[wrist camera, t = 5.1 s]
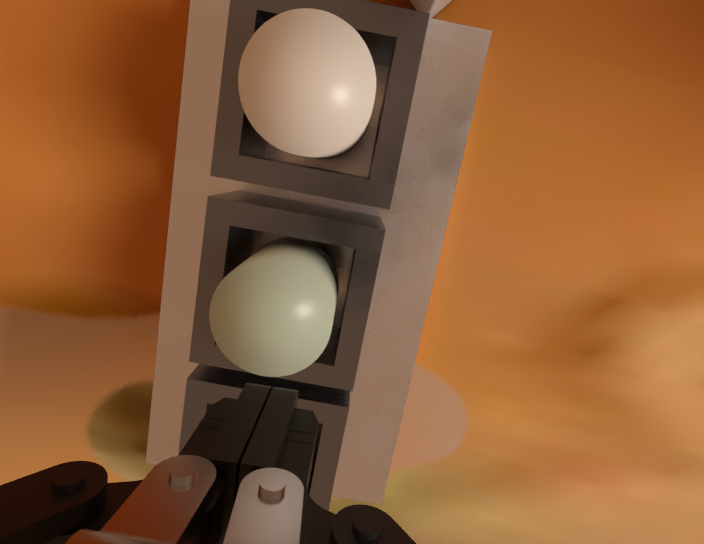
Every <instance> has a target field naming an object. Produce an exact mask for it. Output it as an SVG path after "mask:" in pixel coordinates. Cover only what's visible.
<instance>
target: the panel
mask: <svg viewBox="0 0 704 544" xmlns="http://www.w3.org/2000/svg"><path fill="white" fill-rule="evenodd" d="M299 8H312V9H319V10H323V11H326V12H329V13H331V14H334V15H336V16H338V17H339V18H341V19H343V20H344V21H346V22H347V23H348V24H349V25H351V26H352V27H353V28H354V29H355V30H356V31H357V32H358V34H359V35H360V36H361V38H362V39H363V40H364V42H365V44H366V45H367V47H368V49H369V51H370V54H371V56H372V59H373V63H374V67H375V72H376V94H375V101H374V105H373V110H372V115H371V119H370V123H369V125H368V128H367V130H366V132H365V134H364V135H363V137H362V138H361V140H360V141H359V142H358V143H357V144H356V145H355V146H354V147H353V148H351V149H350V150H349V151H347V152H345V153H344V154H341V155H339V156H336V157H333V158H327V159H315V158H309V157H304V156H299V155H295V154H291V153H287V152H285V151H282V150H280V149H278V148H276V147H275V146H273V145H271V144H270V143H269V142H267V141H266V140H265V139H264V138H263V137H261V136H260V135H259V134H258V133H257V131H256V130H255V129H254V127H253V126H252V125H251V123H250V121H249V120H248V118H247V116H246V114H245V112H244V110H243V107H242V104H241V100H240V95H239V89H238V72H239V66H240V61H241V58H242V55H243V52H244V50H245V48H246V46H247V44H248V42H249V40H250V39H251V37H252V36H253V34H254V33H255V32H256V31H257V30H258V29H259V28H260V27H261V26H262V25H263V24H264V23H265V22H267V21H268V20H270V19H271V18H272V17H274V16H276V15H278V14H280V13H283V12H286V11H289V10H293V9H299ZM429 16H430V13H426V12H421V11H416V10H411V9H406V8H401V7H397V6H392V5H387V4H382V3H377V2H372V1H367V0H190V8H189V18H188V28H187V39H186V49H185V59H184V70H183V80H182V90H181V101H180V111H179V122H178V132H177V142H176V153H175V163H174V173H173V184H172V194H171V204H170V215H169V225H168V235H167V246H166V256H165V267H164V277H163V287H162V298H161V308H160V318H159V329H158V339H157V350H156V360H155V370H154V380H153V391H152V401H151V412H150V422H149V432H148V443H147V453H146V464H151V465H157V464H159V463H160V462H162V461H164V460H166V459H168V458H171V457H174V456H178V455H179V454H180V452H181V451H182V449H183V448H184V446H185V444H186V443H187V441H188V440H189V438H190V437H191V435H192V434H193V432H194V431H195V429H196V428H198V425H199V423H200V422H201V420H202V419H203V418H204V416H205V414H206V413H207V411H208V409H209V408H210V406H211V405H213V404H214V403H216V402H218V401H219V400H221V399H222V398H224V397H226V398H233V399H238V397H239V395H240V393H241V392H242V390H243V388H244V386H245V384H246V383H251V384H258V385H264V386H271V387H272V389H273V387H278V388H284V389H291V390H297V391H298V401H297V408H299V409H305V410H312V411H313V412H314V414H315V416H316V418H317V420H318V428H317V434H316V441H315V448H314V454H313V461H312V468H311V473H310V479H309V484H308V493H309V495H310V497H311V498H312V500H313V501H314V502H315V503H316V504H317V505H319V506H320V507H322V508H323V509H325V510H327V511H328V510H329V505H330V500H331V496H335V497H341V498H347V499H353V500H358V501H364V502H370V503H376V504H382V500H383V496H384V491H385V487H386V483H387V478H388V474H389V470H390V466H391V461H392V457H393V453H394V449H395V444H396V440H397V435H398V431H399V427H400V422H401V418H402V414H403V410H404V406H405V401H406V397H407V392H408V389H409V384H410V380H411V376H412V371H413V367H414V363H415V359H416V355H417V350H418V346H419V342H420V338H421V333H422V329H423V325H424V320H425V316H426V312H427V308H428V303H429V299H430V295H431V291H432V286H433V282H434V278H435V274H436V269H437V265H438V261H439V256H440V252H441V248H442V244H443V239H444V235H445V231H446V227H447V222H448V218H449V214H450V209H451V205H452V201H453V197H454V192H455V188H456V184H457V180H458V175H459V171H460V167H461V163H462V158H463V154H464V150H465V145H466V141H467V137H468V133H469V128H470V124H471V120H472V116H473V111H474V107H475V103H476V98H477V94H478V90H479V86H480V81H481V77H482V73H483V69H484V64H485V60H486V56H487V52H488V47H489V43H490V39H491V34H492V30H487V29H482V28H477V27H472V26H467V25H462V24H457V23H452V22H447V21H442V20H437V19H432V18H429ZM283 238H297V239H302V240H306V241H308V242H311V243H313V244H314V245H316V246H318V247H319V248H320V249H322V250H323V251H324V252H325V253H326V254H327V255H328V257H329V258H330V259H331V261H332V262H333V264H334V266H335V269H336V271H337V275H338V281H339V290H338V297H337V303H336V308H335V314H334V320H333V325H332V331H331V335H330V339H329V341H328V343H327V346H326V347H325V349H324V351H323V352H322V354H321V355H320V356H319V357H318V359H316V360H315V361H314V362H313V363H312V364H311V365H309V366H308V367H307V368H305V369H303V370H301V371H299V372H297V373H294V374H291V375H287V376H281V377H266V376H260V375H256V374H253V373H250V372H247V371H245V370H243V369H241V368H240V367H238V366H237V365H235V364H234V363H232V362H231V361H230V360H229V359H228V358H227V357H226V356H225V355H224V354H223V353H222V351H221V350H220V348H219V347H218V345H217V343H216V342H215V340H214V337H213V334H212V332H211V327H210V320H209V310H210V304H211V300H212V297H213V294H214V292H215V290H216V288H217V287H218V285H219V284H220V282H221V281H222V280H223V279H224V278H225V277H226V276H227V275H228V274H229V273H230V272H231V271H233V270H234V269H235V268H236V267H238V266H239V265H240V264H241V263H243V262H244V261H245V260H246V259H248V258H249V257H250V256H251V255H253V254H254V253H255V252H256V251H258V250H259V249H260V248H261V247H263V246H264V245H266V244H267V243H269V242H272V241H274V240H278V239H283Z"/></svg>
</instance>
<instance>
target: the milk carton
mask: <svg viewBox="0 0 704 544" xmlns="http://www.w3.org/2000/svg"><path fill="white" fill-rule="evenodd" d="M409 1H410V2H411V4H412V5H413V6H414V8H415V9H416V11H421V12H426V13H430V16H429V18H432V17H433V16H435V15H436V14H437V13H438V12H439V11H441V10H442V9H443V8H444V7H445V6H446V5H447V4H449V3H450V2H451V1H452V0H409Z"/></svg>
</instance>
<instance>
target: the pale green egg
mask: <svg viewBox="0 0 704 544" xmlns="http://www.w3.org/2000/svg"><path fill="white" fill-rule="evenodd" d="M338 290H339V281H338V275H337V271H336V269H335V266H334V264H333V262H332V261H331V259H330V258H329V257H328V255H327V254H326V253H325V252H324V251H323V250H322V249H320V248H319V247H318V246H316V245H314V244H313V243H311V242H308V241H306V240H302V239H297V238H283V239H278V240H274V241H272V242H269V243H267V244H266V245H264V246H263V247H261V248H260V249H259V250H258V251H256V252H255V253H254V254H253V255H251V256H250V257H249V258H248V259H246V260H245V261H244V262H243V263H241V264H240V265H239V266H238V267H236V268H235V269H234V270H233V271H231V272H230V273H229V274H228V275H227V276H226V277H225V278H224V279H223V280H222V281H221V282H220V284H219V285H218V287H217V288H216V290H215V292H214V294H213V297H212V300H211V304H210V310H209V320H210V327H211V332H212V334H213V337H214V340H215V342H216V343H217V345H218V347H219V348H220V350H221V351H222V353H223V354H224V355H225V356H226V357H227V358H228V359H229V360H230V361H231V362H232V363H234V364H235V365H237V366H238V367H240V368H241V369H243V370H245V371H247V372H250V373H253V374H256V375H260V376H266V377H281V376H287V375H291V374H294V373H297V372H299V371H301V370H303V369H305V368H307V367H308V366H309V365H311V364H312V363H313V362H314V361H315V360H316V359H318V357H319V356H320V355H321V354H322V352H323V351H324V349H325V347H326V346H327V343H328V341H329V339H330V335H331V331H332V325H333V320H334V314H335V308H336V303H337V297H338Z"/></svg>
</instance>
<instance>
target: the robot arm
mask: <svg viewBox="0 0 704 544" xmlns="http://www.w3.org/2000/svg"><path fill="white" fill-rule="evenodd" d="M297 401H298V391H297V390H291V389H284V388H278V387H273V389H272V387H271V386H264V385H258V384H251V383H246V384H245V386H244V388H243V390H242V392H241V393H240V395H239V397H238V399H233V398H226V397H224V398H222V399H221V400H219V401H218V402H216V403H214V404H213V405H211V406H210V408H209V409H208V411H207V413H206V414H205V416H204V418H203V419H202V420H201V422H200V423H199V425H198V428H196V429H195V431H194V432H193V434H192V435H191V437H190V438H189V440H188V441H187V443H186V444H185V446H184V448H183V449H182V451H181V452H180V454H179V455H178V456H174V457H171V458H168V459H166V460H164V461H162V462H160V463H159V464H157V465H156V466H155V467H154V468H153V469H152V470H151V471H150V472H149V474H148V475H147V476H146V477H145V478H144V479H143V480H139V481H130V482H117V483H107V479H108V477H107V476H108V475H107V472H106V470H105V469H104V468H103V467H102V466H100V465H99V464H96V463H93V462H88V461H74V462H67V463H63V464H59V465H56V466H53V467H50V468H48V469H45V470H42V471H39V472H37V473H34V474H31V475H28V476H25V477H23V478H20V479H17V480H14V481H12V482H9V483H6V484H3V485H1V486H0V544H416V543H415V542H414V541H413V540H412V539H411V538H410V537H409V536H408V535H407V533H406V532H405V531H404V530H403V529H402V528H401V527H400V526H399V525H398V524H397V523H396V522H395V521H394V520H393V519H392V518H391V517H390V516H389V515H388V514H386V513H385V512H384V511H382V510H380V509H378V508H375V507H372V506H368V505H351V506H348V507H345V508H343V509H342V510H340V511H339V512H338V513H337V514H334V513H331V512H329V511H327V510H325V509H323V508H322V507H320V506H319V505H317V504H316V503H315V502H314V501H313V500H312V498H311V497H310V495H309V493H308V484H309V479H310V473H311V468H312V461H313V454H314V448H315V441H316V434H317V428H318V420H317V418H316V416H315V414H314V412H313V411H312V410H305V409H299V408H297Z"/></svg>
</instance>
